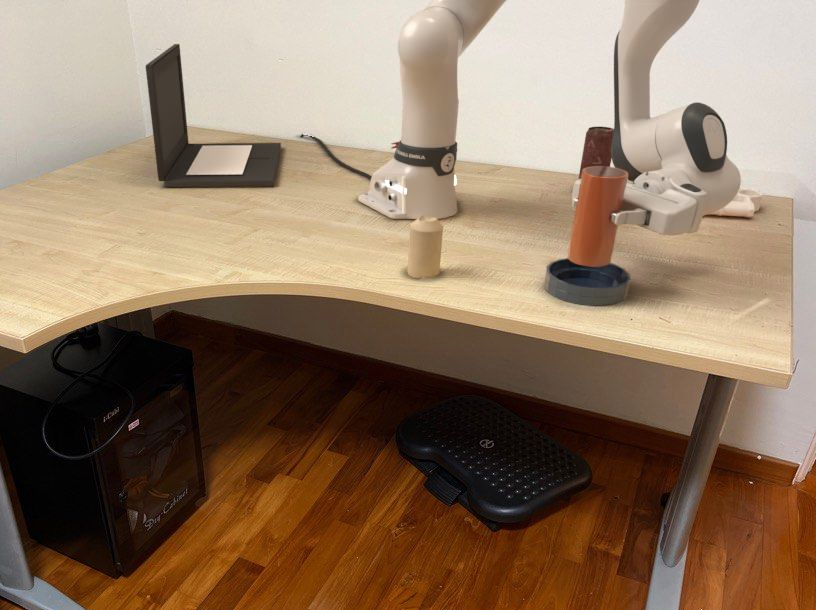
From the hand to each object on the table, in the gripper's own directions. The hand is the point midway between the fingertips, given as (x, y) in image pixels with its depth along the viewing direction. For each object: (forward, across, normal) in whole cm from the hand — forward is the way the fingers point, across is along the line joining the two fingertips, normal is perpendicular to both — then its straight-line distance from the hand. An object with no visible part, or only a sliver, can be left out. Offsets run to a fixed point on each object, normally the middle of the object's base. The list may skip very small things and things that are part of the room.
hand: (594, 211), depth 117 cm
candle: (+18, -19, +14) cm, 29 cm away
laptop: (+21, -102, +14) cm, 105 cm away
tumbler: (-1, 0, +8) cm, 8 cm away
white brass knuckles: (-57, -19, +14) cm, 61 cm away
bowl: (-1, 0, +14) cm, 14 cm away
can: (-43, -40, +14) cm, 60 cm away
